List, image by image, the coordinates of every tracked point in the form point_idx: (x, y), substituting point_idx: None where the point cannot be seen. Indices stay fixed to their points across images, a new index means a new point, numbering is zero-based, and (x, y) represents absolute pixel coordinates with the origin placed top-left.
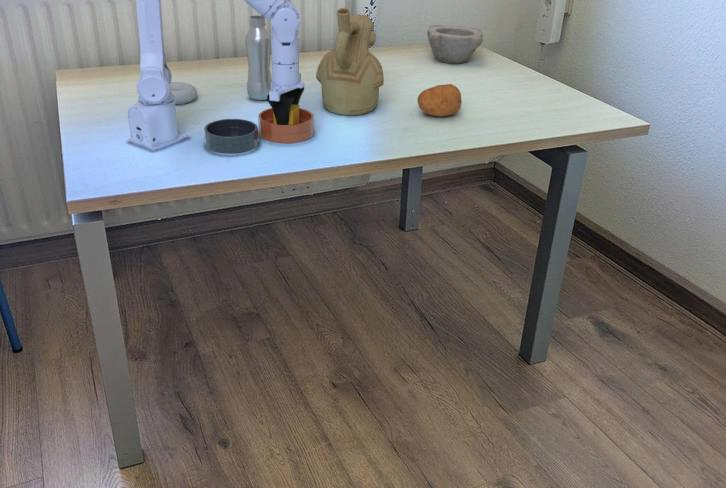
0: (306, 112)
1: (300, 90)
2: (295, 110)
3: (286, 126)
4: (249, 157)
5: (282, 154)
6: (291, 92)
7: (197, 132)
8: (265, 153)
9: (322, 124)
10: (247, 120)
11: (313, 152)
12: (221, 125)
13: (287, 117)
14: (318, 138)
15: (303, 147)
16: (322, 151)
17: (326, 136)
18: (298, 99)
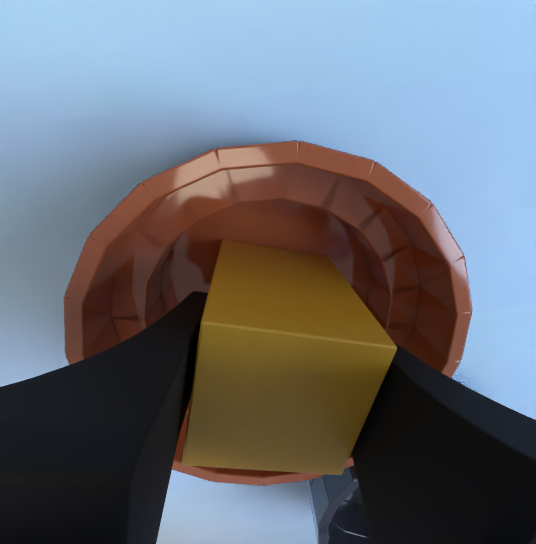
0: (128, 228)
1: (134, 479)
2: (315, 326)
3: (468, 322)
4: (506, 377)
5: (498, 270)
6: (149, 523)
7: (283, 539)
8: (476, 335)
9: (25, 104)
10: (336, 497)
11: (500, 116)
12: (337, 537)
13: (406, 351)
14: (287, 107)
15: (424, 184)
16: (494, 57)
17: (244, 50)
18: (168, 368)
